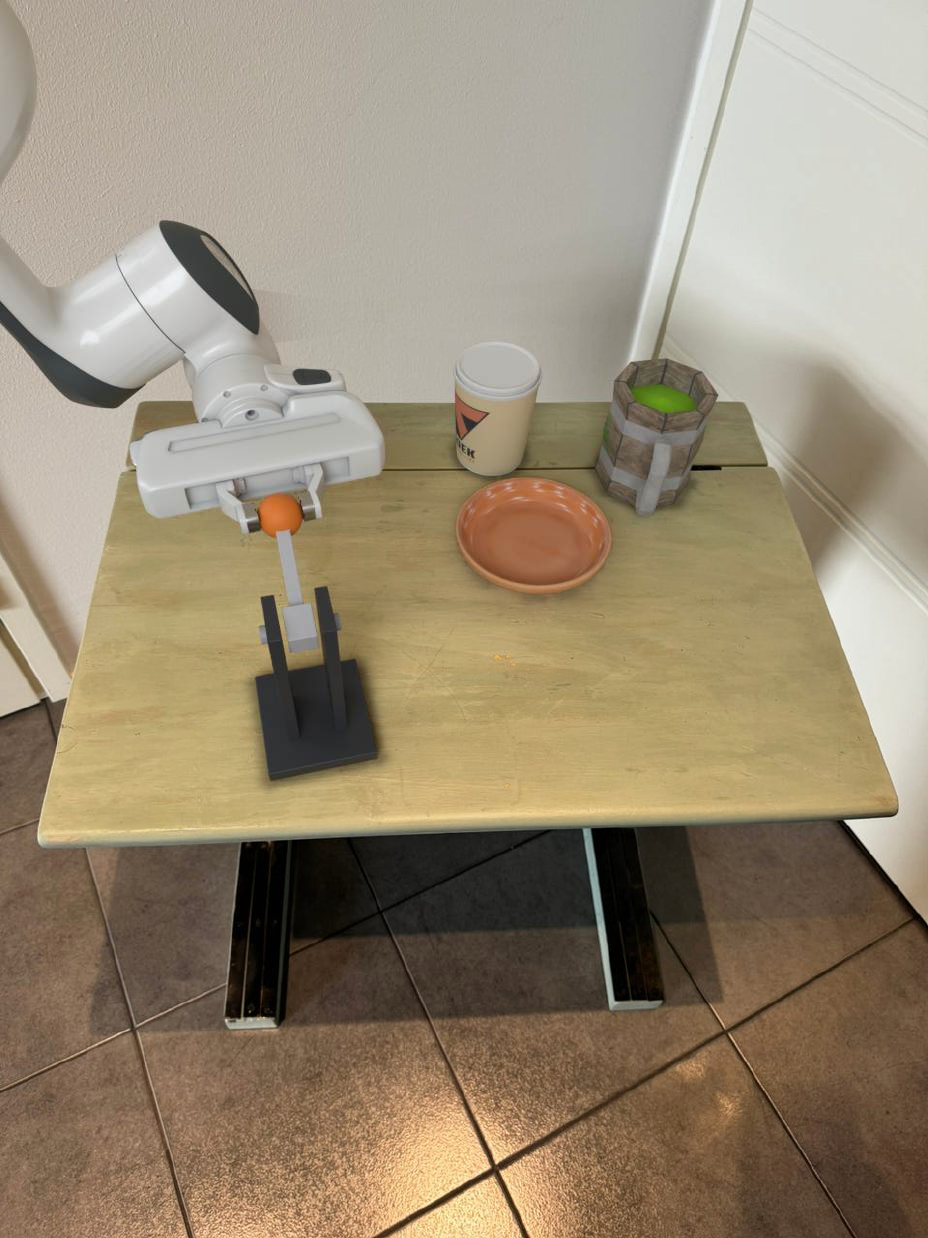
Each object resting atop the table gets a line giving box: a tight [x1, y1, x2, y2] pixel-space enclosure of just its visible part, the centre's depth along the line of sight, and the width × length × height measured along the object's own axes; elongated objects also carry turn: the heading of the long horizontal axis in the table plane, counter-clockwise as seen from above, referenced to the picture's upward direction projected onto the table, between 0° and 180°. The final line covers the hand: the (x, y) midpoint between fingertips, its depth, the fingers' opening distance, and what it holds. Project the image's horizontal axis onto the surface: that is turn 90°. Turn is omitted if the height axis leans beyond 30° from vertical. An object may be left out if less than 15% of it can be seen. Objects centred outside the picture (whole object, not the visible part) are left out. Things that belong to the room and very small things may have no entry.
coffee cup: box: [452, 340, 543, 477], centre depth 92 cm, size 9×9×12 cm
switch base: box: [254, 585, 378, 782], centre depth 67 cm, size 10×9×15 cm
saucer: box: [455, 476, 613, 595], centre depth 86 cm, size 16×16×3 cm
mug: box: [593, 357, 719, 518], centre depth 89 cm, size 16×11×12 cm
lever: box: [256, 493, 320, 654], centre depth 65 cm, size 13×4×4 cm, turn 15°
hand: (282, 520), depth 66 cm, fingers closed on lever, 3 cm apart
